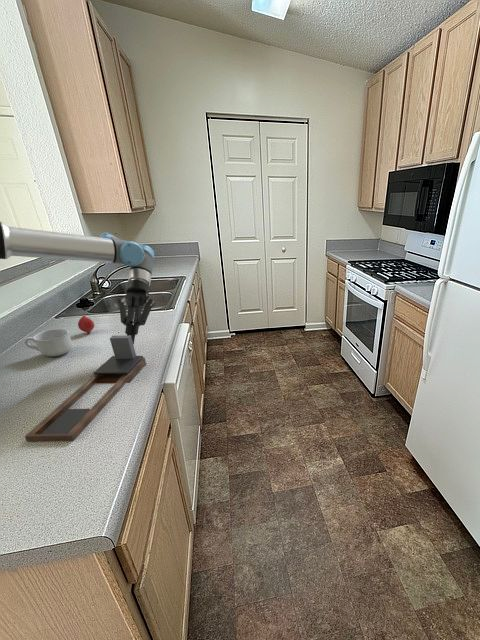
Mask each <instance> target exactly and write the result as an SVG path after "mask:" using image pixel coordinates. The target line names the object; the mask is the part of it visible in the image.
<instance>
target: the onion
mask: <svg viewBox="0 0 480 640" xmlns="http://www.w3.org/2000/svg"><path fill="white" fill-rule="evenodd" d="M77 327H78V329H79V330H80V331H81V332H84V333H88V334H90V333H91V332H92V331H93V330H94V328H95V323H94V321H93V320H92V319H91V318H89V317H87V316H86V314H84V315H82V317H80V318H79V320H78V321H77Z"/></svg>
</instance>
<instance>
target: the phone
mask: <svg viewBox="0 0 480 640" xmlns="http://www.w3.org/2000/svg"><path fill="white" fill-rule="evenodd" d="M90 409H91V408H69V409H67V410H66V411H65V412H64V413H63V414H62V415H61V416H60V417H59V418H57V419H56V420H55V421H54V422H53V423H52V424H51V425H50V426H49V427H48V428H47V429H46V430H45V431H44V432H43V433H41V434H67V433H68V432H69V431H70V430H71V429H72V428H73V427H74V426H75V425H76V424H77V423H78V422H79V421H80V420H81V419H82V417H83V416H84V415H85V414H86V413H87V412H88V411H89V410H90Z"/></svg>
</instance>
